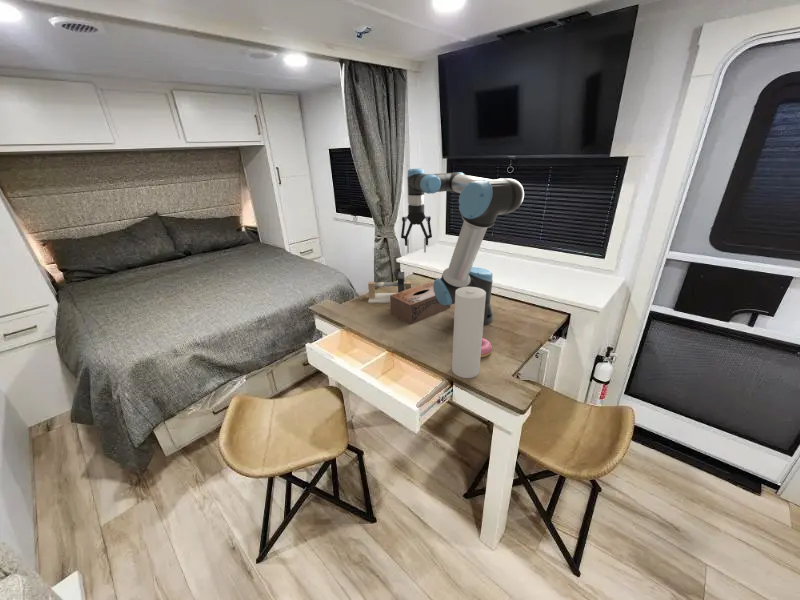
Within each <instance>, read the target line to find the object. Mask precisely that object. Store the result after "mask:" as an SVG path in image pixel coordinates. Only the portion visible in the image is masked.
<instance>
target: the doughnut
mask: <svg viewBox="0 0 800 600" xmlns="http://www.w3.org/2000/svg"><path fill="white" fill-rule="evenodd" d="M492 350H493V346H492V343H491V342H490V341H489V340H487V339H486V338H483V337H482V345H481V357H480V358H485V357H487V356H489V355H490V354H491V352H492Z"/></svg>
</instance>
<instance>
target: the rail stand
mask: <svg viewBox="0 0 800 600" xmlns="http://www.w3.org/2000/svg"><path fill="white" fill-rule="evenodd" d="M367 285H368V289H367V290H368V302H367V304H390V295H393V294H396V293H397V292H376V287H383V288H384V287H398V281H397V282H395V281H394V282H389V281H388V282H384V281H382V282H375V281H368V284H367ZM404 286H405V290H407V289H410V288H412V281H405V282H404Z"/></svg>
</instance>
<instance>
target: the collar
mask: <svg viewBox="0 0 800 600" xmlns="http://www.w3.org/2000/svg"><path fill="white" fill-rule="evenodd" d="M397 282H398V286H397V293H399V292H401V291H404V290H405V286H404V282H405V271H398V275H397Z"/></svg>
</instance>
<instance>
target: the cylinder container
mask: <svg viewBox="0 0 800 600" xmlns="http://www.w3.org/2000/svg"><path fill="white" fill-rule="evenodd" d="M485 299H486V292H485V291H484V290H483V289H480V288H477V287H461V288H458V289H457V290H456V291H455V304H454V314H453V316H454V317H453V318H454V319H453V338H452V339H453V340H452V360H451V371H452V372H453V374H454V375H456V376H457V377H460V378H464V379H472V378H475V377H477V376H478V375H479V374H480V367H481V366H480V365H481V358H482V357H481V345H482V338H483V334H484V324H483V322H484V311H485Z"/></svg>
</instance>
